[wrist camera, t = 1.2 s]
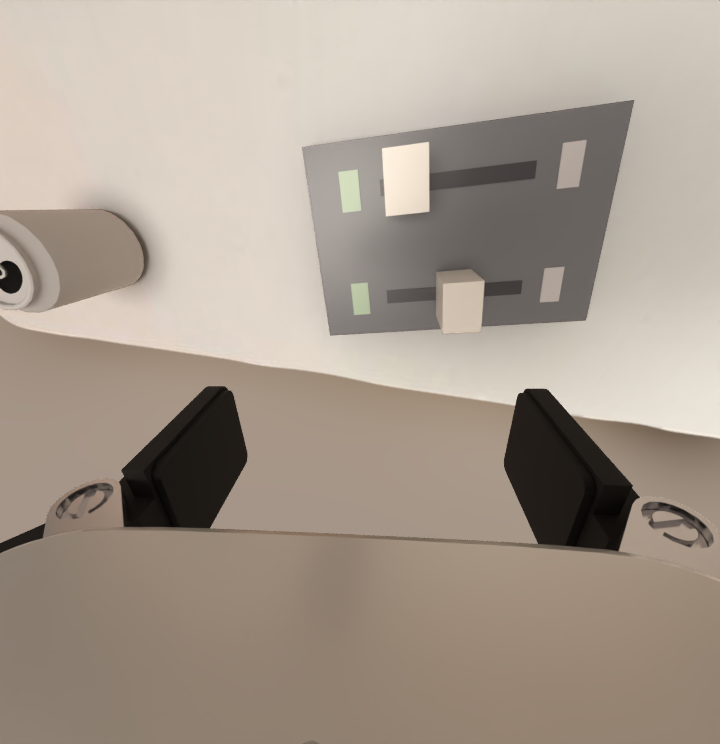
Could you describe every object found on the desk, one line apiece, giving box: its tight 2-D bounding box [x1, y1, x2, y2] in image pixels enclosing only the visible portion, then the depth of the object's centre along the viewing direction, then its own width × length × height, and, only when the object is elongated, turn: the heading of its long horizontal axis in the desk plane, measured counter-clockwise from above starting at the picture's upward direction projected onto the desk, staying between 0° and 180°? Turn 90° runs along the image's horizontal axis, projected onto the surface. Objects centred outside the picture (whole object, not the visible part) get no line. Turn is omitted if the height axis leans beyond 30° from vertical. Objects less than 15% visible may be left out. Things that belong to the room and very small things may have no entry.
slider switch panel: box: [302, 100, 634, 336], centre depth 29 cm, size 24×16×3 cm, turn 96°
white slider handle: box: [436, 269, 485, 334], centre depth 27 cm, size 3×4×5 cm
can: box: [0, 209, 144, 313], centre depth 29 cm, size 8×8×12 cm
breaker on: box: [382, 142, 429, 216], centre depth 24 cm, size 3×4×5 cm
